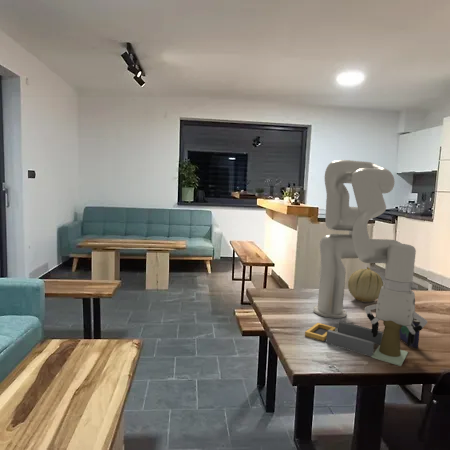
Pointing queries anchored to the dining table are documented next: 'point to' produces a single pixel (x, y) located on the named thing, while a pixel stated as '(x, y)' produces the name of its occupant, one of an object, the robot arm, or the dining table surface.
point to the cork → (391, 339)
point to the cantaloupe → (365, 285)
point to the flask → (405, 331)
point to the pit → (319, 331)
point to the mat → (390, 359)
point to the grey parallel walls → (354, 338)
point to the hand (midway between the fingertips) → (391, 340)
